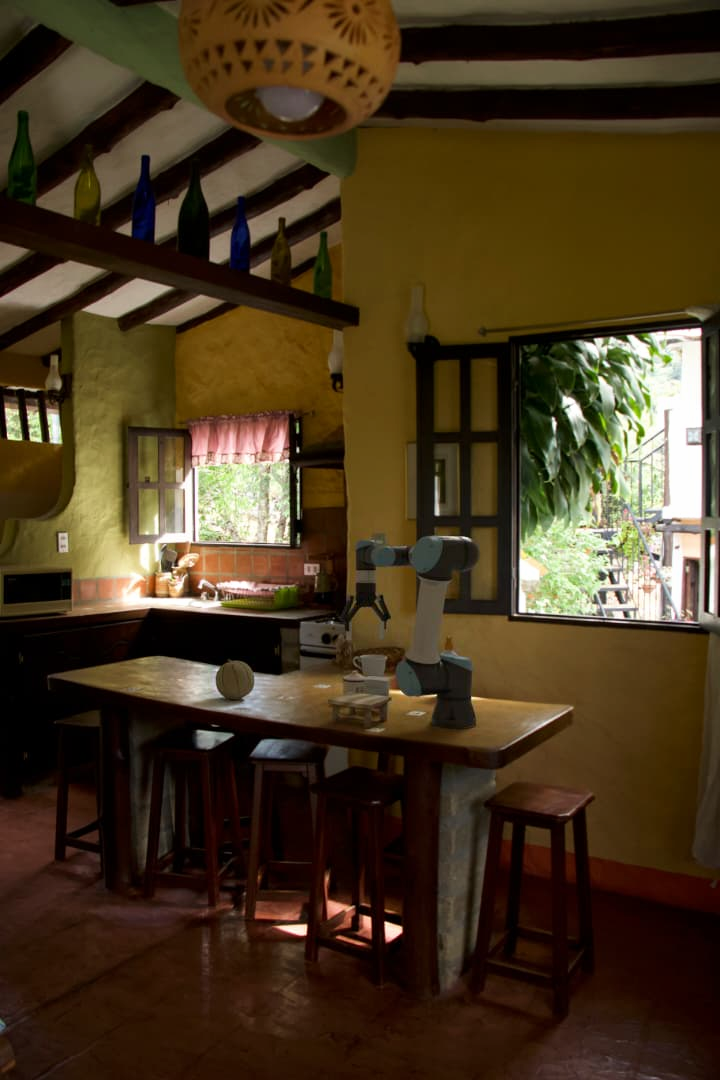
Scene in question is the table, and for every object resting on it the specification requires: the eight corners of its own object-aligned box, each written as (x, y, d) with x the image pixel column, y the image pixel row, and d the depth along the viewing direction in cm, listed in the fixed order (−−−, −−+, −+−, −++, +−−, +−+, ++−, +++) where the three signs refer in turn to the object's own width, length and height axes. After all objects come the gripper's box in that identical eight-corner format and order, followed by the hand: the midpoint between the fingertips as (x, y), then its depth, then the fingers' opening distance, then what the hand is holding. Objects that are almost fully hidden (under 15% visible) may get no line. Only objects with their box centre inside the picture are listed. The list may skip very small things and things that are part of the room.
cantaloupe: (252, 703, 327) (252, 663, 326) (212, 703, 326) (212, 662, 326) (256, 695, 341) (257, 656, 341) (218, 695, 341) (219, 656, 341)
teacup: (353, 676, 386) (353, 654, 386) (387, 677, 386) (387, 654, 386) (351, 681, 374) (352, 658, 374) (387, 682, 374) (387, 659, 374)
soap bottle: (436, 698, 342) (437, 637, 342) (437, 693, 352) (438, 634, 351) (458, 699, 341) (459, 637, 340) (459, 694, 350) (460, 634, 350)
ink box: (386, 713, 314) (387, 680, 314) (362, 712, 315) (363, 679, 315) (389, 708, 322) (390, 676, 322) (366, 707, 324) (366, 675, 324)
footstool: (391, 720, 303) (391, 696, 303) (370, 729, 289) (370, 705, 289) (350, 714, 311) (350, 692, 311) (327, 723, 297) (328, 699, 296)
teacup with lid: (355, 705, 327) (355, 673, 327) (337, 701, 333) (337, 670, 333) (376, 700, 336) (377, 670, 336) (358, 697, 342) (359, 667, 342)
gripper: (390, 580, 336) (389, 636, 336) (330, 582, 325) (330, 639, 325) (400, 581, 330) (399, 638, 330) (340, 582, 318) (339, 641, 318)
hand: (365, 639), depth 327 cm, fingers open, 13 cm apart
